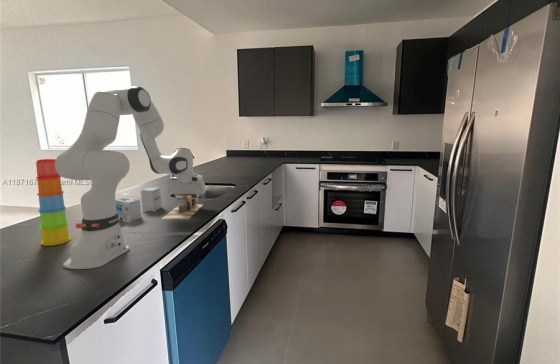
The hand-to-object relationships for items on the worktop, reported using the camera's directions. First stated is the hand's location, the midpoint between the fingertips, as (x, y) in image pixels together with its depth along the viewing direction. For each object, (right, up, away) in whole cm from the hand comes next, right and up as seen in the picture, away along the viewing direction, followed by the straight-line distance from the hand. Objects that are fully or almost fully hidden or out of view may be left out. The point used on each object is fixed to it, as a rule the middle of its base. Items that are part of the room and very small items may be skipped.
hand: (187, 201), depth 168 cm
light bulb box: (-25, -9, -16) cm, 30 cm away
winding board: (0, -6, -6) cm, 8 cm away
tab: (0, -3, +1) cm, 3 cm away
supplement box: (-19, -5, -1) cm, 20 cm away
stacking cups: (-43, -14, -41) cm, 61 cm away
